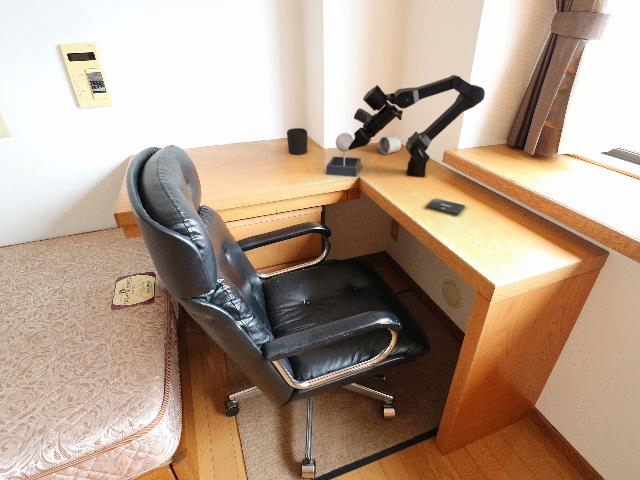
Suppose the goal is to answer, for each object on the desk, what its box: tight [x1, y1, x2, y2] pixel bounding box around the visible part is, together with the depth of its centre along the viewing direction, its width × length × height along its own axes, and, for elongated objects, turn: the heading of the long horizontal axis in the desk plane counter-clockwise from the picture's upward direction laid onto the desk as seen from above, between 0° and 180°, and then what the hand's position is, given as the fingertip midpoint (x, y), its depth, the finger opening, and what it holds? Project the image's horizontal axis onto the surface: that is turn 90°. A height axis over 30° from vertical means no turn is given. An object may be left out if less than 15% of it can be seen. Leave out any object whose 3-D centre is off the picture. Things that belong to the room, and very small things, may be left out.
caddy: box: [326, 156, 362, 177], centre depth 143 cm, size 12×12×4 cm
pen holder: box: [286, 127, 308, 156], centre depth 163 cm, size 9×9×10 cm
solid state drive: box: [427, 197, 466, 216], centre depth 113 cm, size 7×10×1 cm
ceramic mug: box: [377, 135, 402, 155], centre depth 162 cm, size 11×8×8 cm
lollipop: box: [335, 132, 354, 166], centre depth 140 cm, size 7×7×15 cm
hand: (352, 145), depth 138 cm, fingers open, 9 cm apart
